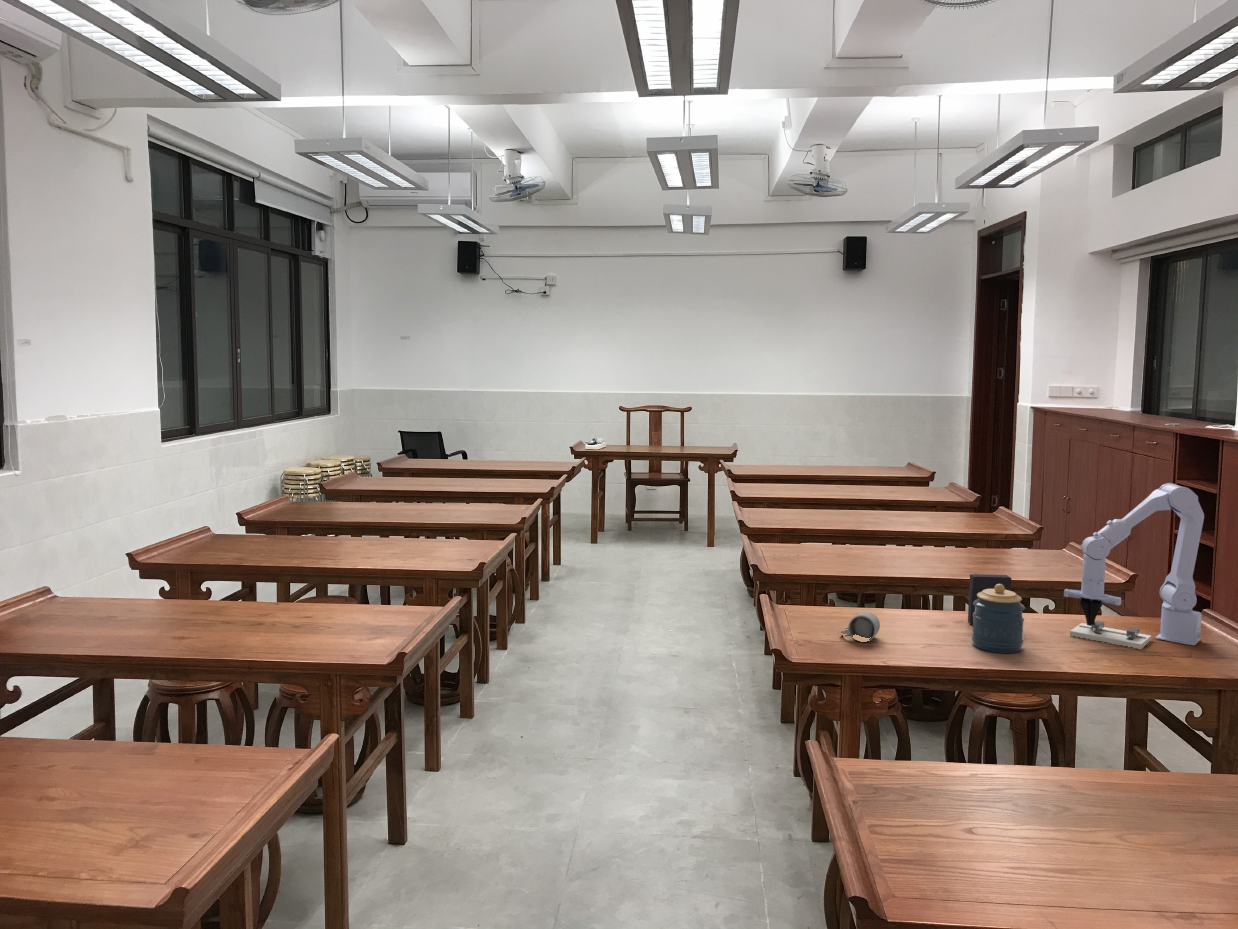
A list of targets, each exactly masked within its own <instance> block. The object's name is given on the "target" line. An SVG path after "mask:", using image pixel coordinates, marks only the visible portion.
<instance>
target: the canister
mask: <svg viewBox="0 0 1238 929" xmlns="http://www.w3.org/2000/svg"><path fill="white" fill-rule="evenodd" d="M977 596H978V597H979V598H978V599H977V600H975V601H974V602H973V604H974V606H975V612H974V613H973V625H972V634H971V641H972V645H973V646H974V647H975V648H977V649H980V650H982V651H986V652H991V653H997V654H1014V653H1015V654H1016V653H1018V652H1020V651H1022V648H1023V644H1024V640H1023V636H1024V635H1023V634H1024V621H1025V618H1024V617H1023V611H1025V608H1026V607H1025V605H1024V604H1022V603H1021V601H1022V600H1023V599H1022V597H1021V596H1020V595H1018V594H1017V593H1016V592H1014V591H1009V590H1005V588H1004V586H1003V585H1002V584H997V585H995V587H994V589H985V590H983V591H982V592H979V593H978V594H977Z"/></svg>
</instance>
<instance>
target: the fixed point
mask: <svg viewBox="0 0 1238 929" xmlns="http://www.w3.org/2000/svg"><path fill="white" fill-rule="evenodd" d="M1126 631H1127V634H1126V636H1127V637H1129V638H1131V637H1133V638H1135V637H1136V636H1137V635H1138V634H1139V633H1140V628H1138V627H1134V626H1133V627H1132V626H1131V627H1130V628H1129V629H1127V630H1126Z"/></svg>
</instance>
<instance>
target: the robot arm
mask: <svg viewBox="0 0 1238 929" xmlns="http://www.w3.org/2000/svg"><path fill="white" fill-rule="evenodd" d="M1170 510H1173V512H1174V513H1175V514H1176V515H1177V516H1178V517H1179V518H1180V522H1179V525H1178V526H1179V527H1178V533H1177V538H1176V543H1175V548H1174V553H1173V557H1172V563H1171V569H1170V572H1169V573H1168V574H1167V575H1166V577H1165V580H1164V582H1163V584H1162V585H1161V586H1160V588H1159V596H1160V599H1161V600H1163V603H1161V614H1160V628H1159V629H1160V630H1159V631H1160V632H1159V633H1158V634H1157V635H1156V636H1155V639H1156V640H1160V641H1161V640H1163V641H1167V642H1173V643H1177V644H1184V645H1189V646H1196V645H1197V643H1199V641H1201V630H1202V629H1201V628H1202V613H1201V612H1200V611H1197V610H1193V608H1194V607H1195V606H1196V605H1197V595H1196V584H1195V581H1194V578H1193V577H1194V576H1193V575H1194V572H1195V565H1196V561H1197V557H1198V556H1197V555H1198V552H1199V551H1198V550H1199V546H1200V542H1201V535H1202V531H1203V525H1204V521H1205V520H1204V519H1205V513H1204V511H1203V509H1202V506H1201V504H1200V501H1199V495H1197V494H1196V493H1195V492H1194V491H1193V490H1192V489H1190V488H1189V487H1186V486H1181V485H1178V484H1176V483H1172V482H1167V483H1164V484H1161V486H1160V487H1159V488H1156V489H1154V490H1153V491H1152V492H1151V493H1150V494H1149V495H1148V496H1147V497H1145V499H1143V501H1142V502H1140V503H1139V504H1138V505H1137V506H1135V507H1134V508H1133V509H1132V510H1131V511H1129V512H1128V513H1127V514H1126V515H1125V516H1124V517H1122V518H1121V519H1119V518H1114V519H1113V520H1110V519H1109V520H1108V521H1107V522H1106V525H1105V526H1104V527H1102V528H1101V529H1100V530H1098V531H1097V532H1096V531H1095V532H1093V533H1092V535H1093V536H1088V537H1086V538H1085V539H1084V540H1082V543H1081V544H1080V550H1081V551H1082V553H1083V559H1082V572H1081V588H1080V590H1078V589H1069V588H1065V589H1064V591H1063V597H1065V598H1075V599H1080V601H1079V604H1080V607H1081V609H1082V610H1083V613H1084V617H1085V621H1086V624H1087V625H1088V626H1091V624H1093V623H1094V622H1096V619H1097V616H1098V614H1099V612H1100V609H1101V607H1102V606H1104V603H1106V604H1111V605H1114V606H1120V605H1122V597H1118V596H1114V595H1109V594H1106V593H1105V578H1106V558H1107V557H1109V554H1111V549H1113V548H1114V547H1116V546H1117V545H1118V544H1120V543H1121V542H1122V541H1124V540H1125V539H1126V538H1128V537H1129V536H1130V535H1131V532H1132V528H1133V527H1135V526H1137V524H1139V523H1141V522H1142V521H1144V520H1145V519H1146V518H1148V517H1150V516H1151V515H1152V514H1154V513H1155V512H1158V511H1160V512H1161V511H1170Z"/></svg>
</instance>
